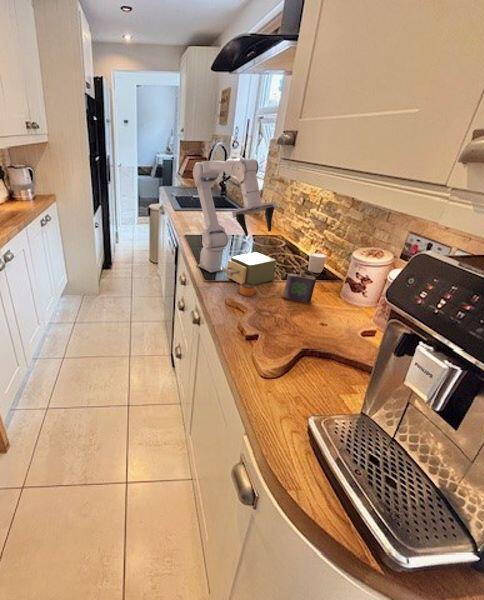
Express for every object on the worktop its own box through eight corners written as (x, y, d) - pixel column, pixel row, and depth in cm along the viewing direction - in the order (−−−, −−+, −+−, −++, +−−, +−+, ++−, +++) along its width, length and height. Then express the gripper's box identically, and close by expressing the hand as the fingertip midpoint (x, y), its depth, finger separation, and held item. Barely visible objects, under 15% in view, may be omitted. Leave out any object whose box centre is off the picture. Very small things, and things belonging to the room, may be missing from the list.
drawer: (232, 287, 122) (235, 270, 119) (217, 278, 129) (218, 262, 126) (265, 279, 129) (268, 262, 126) (249, 271, 137) (251, 255, 134)
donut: (236, 291, 120) (237, 283, 119) (246, 288, 123) (248, 281, 121) (246, 296, 116) (247, 289, 115) (256, 294, 119) (258, 286, 117)
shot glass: (303, 268, 143) (306, 253, 140) (314, 266, 146) (318, 251, 142) (315, 274, 137) (319, 258, 134) (327, 272, 140) (331, 256, 137)
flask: (282, 298, 116) (288, 270, 111) (283, 295, 118) (289, 267, 113) (310, 303, 112) (317, 275, 108) (310, 300, 115) (318, 272, 110)
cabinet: (247, 286, 125) (250, 265, 121) (229, 276, 133) (231, 256, 129) (272, 280, 131) (276, 259, 127) (253, 271, 139) (256, 252, 135)
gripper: (230, 196, 108) (237, 236, 108) (274, 185, 106) (282, 226, 106) (229, 201, 115) (236, 239, 115) (271, 192, 113) (278, 230, 113)
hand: (258, 233), depth 111 cm, fingers open, 7 cm apart
